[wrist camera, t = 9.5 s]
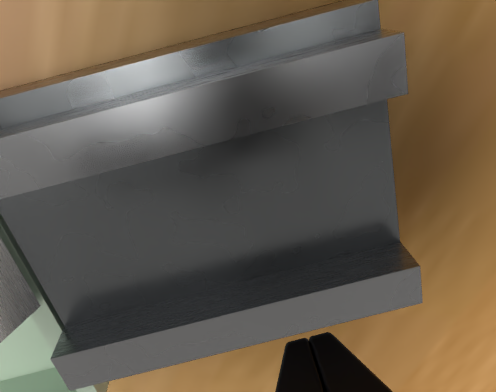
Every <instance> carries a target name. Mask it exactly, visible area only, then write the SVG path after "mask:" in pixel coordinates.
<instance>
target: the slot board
mask: <svg viewBox="0 0 496 392" xmlns="http://www.w3.org/2000/svg"><path fill="white" fill-rule="evenodd" d="M405 94H408V83H407V68H406V54H405V39H404V32H398V31H392V30H386V29H380V18H379V7H378V0H343V1H340V2H336V3H332V4H328V5H324V6H321V7H317V8H313V9H309V10H305V11H302V12H298V13H294V14H290V15H286V16H283V17H279V18H275V19H271V20H267V21H264V22H260V23H256V24H252V25H249V26H245V27H241V28H237V29H233V30H230V31H226V32H222V33H218V34H214V35H211V36H207V37H203V38H199V39H195V40H192V41H188V42H184V43H180V44H176V45H173V46H169V47H165V48H161V49H157V50H154V51H150V52H146V53H142V54H138V55H135V56H131V57H127V58H123V59H119V60H116V61H112V62H108V63H104V64H101V65H97V66H93V67H89V68H85V69H82V70H78V71H74V72H70V73H66V74H63V75H59V76H55V77H51V78H47V79H44V80H40V81H36V82H32V83H28V84H25V85H21V86H17V87H13V88H9V89H6V90H2V91H0V213H1V215H2V217H3V218H4V220H5V222H6V224H7V226H8V227H9V229H10V231H11V233H12V234H13V236H14V238H15V240H16V241H17V243H18V245H19V247H20V248H21V250H22V252H23V254H24V255H25V257H26V259H27V261H28V263H29V264H30V266H31V268H32V270H33V271H34V273H35V275H36V277H37V278H38V280H39V282H40V284H41V285H42V287H43V289H44V291H45V292H46V294H47V296H48V298H49V299H50V301H51V303H52V305H53V307H54V308H55V310H56V312H57V314H58V315H59V317H60V319H61V321H62V322H63V324H64V328H63V331H62V333H61V335H60V337H59V340H58V342H57V344H56V347H55V349H54V351H53V354H52V356H51V358H50V360H51V361H52V363H53V364H54V366H55V368H56V369H57V371H58V373H59V374H60V376H61V377H62V379H63V381H64V382H65V384H66V386H67V387H68V389H69V390H70V391H71V390H76V389H80V388H84V387H88V386H92V385H96V384H100V383H104V382H108V381H112V380H116V379H120V378H124V377H128V376H132V375H136V374H140V373H144V372H148V371H152V370H156V369H160V368H164V367H168V366H172V365H176V364H180V363H184V362H188V361H192V360H196V359H200V358H204V357H208V356H212V355H216V354H220V353H224V352H228V351H232V350H236V349H240V348H244V347H248V346H252V345H256V344H260V343H264V342H268V341H272V340H276V339H280V338H284V337H288V336H292V335H296V334H300V333H304V332H308V331H312V330H316V329H320V328H324V327H328V326H332V325H336V324H340V323H344V322H348V321H352V320H356V319H360V318H364V317H368V316H372V315H376V314H380V313H384V312H388V311H392V310H396V309H400V308H404V307H408V306H412V305H416V304H420V303H422V288H421V273H420V265H419V264H418V263H417V262H416V261H415V259H414V258H413V257H412V256H411V254H410V253H409V252H408V251H407V249H406V248H405V247H404V246H403V244H402V243H401V242H400V237H399V226H398V215H397V204H396V193H395V182H394V171H393V160H392V149H391V138H390V127H389V116H388V106H387V99H389V98H393V97H397V96H401V95H405Z"/></svg>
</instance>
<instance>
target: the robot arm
mask: <svg viewBox="0 0 496 392" xmlns="http://www.w3.org/2000/svg"><path fill="white" fill-rule="evenodd" d="M275 392H392V391H391V390H390V389H389V388H388V387H387V386H386V385H385V384H384V383H383V382H382V381H381V380H380V379H379V378H378V377H377V376H376V375H375V374H374V373H372V372H371V371H370V370H369V369H368V368H367V367H366V366H365V365H364V364H363V363H362V362H361V361H360V360H359V359H358V358H357V357H356V356H355V355H353V354H352V353H351V352H350V351H349V350H348V349H347V348H346V347H345V346H344V345H343V344H342V343H341V342H340V341H339V340H338V339H337V338H336V337H335V336H333V335H332V334H331V333H328V332H327V333H323V334H319V335H315V336H311V337H310V338H309V341H308V339H306V338H303V339H299V340H295V341H291V342H288V343H287V344H286V346H285V350H284V355H283V360H282V364H281V369H280V373H279V378H278V382H277V387H276V391H275Z"/></svg>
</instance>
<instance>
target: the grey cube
mask: <svg viewBox="0 0 496 392" xmlns="http://www.w3.org/2000/svg"><path fill="white" fill-rule="evenodd" d="M40 306H41V305H40V304H39V302H38V300H37V299H36V297H35V295H34V294H33V292H32V290H31V288H30V287H29V285H28V283H27V282H26V280H25V278H24V277H23V275H22V273H21V271H20V270H19V268H18V266H17V265H16V263H15V261H14V260H13V258H12V256H11V255H10V253H9V251H8V249H7V248H6V246H5V244H4V243H3V241H2V239H1V238H0V343H1V342H2V341H3V340H4V339H5V338H6V337H8V336H9V335H10V334H11V333H12V332H13V331H14V330H15V329H16V328H17V327H18V326H19V325H21V324H22V323H23V322H24V321H25V320H26V319H27V318H28V317H29V316H30V315H31V314H32V313H34V312H35V311H36V310H37V309H38V308H39V307H40Z"/></svg>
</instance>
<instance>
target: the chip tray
mask: <svg viewBox="0 0 496 392" xmlns="http://www.w3.org/2000/svg"><path fill="white" fill-rule="evenodd" d="M0 238H1V239H2V241H3V243H4V244H5V246H6V248H7V249H8V251H9V253H10V255H11V256H12V258H13V260H14V261H15V263H16V265H17V266H18V268H19V270H20V271H21V273H22V275H23V277H24V278H25V280H26V282H27V283H28V285H29V287H30V288H31V290H32V292H33V294H34V295H35V297H36V299H37V300H38V302H39V304H40V305H41V306H40V307H39V308H38V309H37V310H36V311H35V312H34V313H32V314H31V315H30V316H29V317H28V318H27V319H26V320H25V321H24V322H23V323H22V324H21V325H19V326H18V327H17V328H16V329H15V330H14V331H13V332H12V333H11V334H10V335H9V336H8V337H6V338H5V339H4V340H3V341H2V342H1V343H0V392H107V388H108V384H109V381H108V382H104V383H100V384H96V385H92V386H88V387H84V388H80V389H76V390H71V391H70V390H69V389H68V387H67V386H66V384H65V382H64V381H63V379H62V377H61V376H60V374H59V373H58V371H57V369H56V368H55V366H54V364H53V363H52V361H51V360H50V358H51V356H52V354H53V351H54V349H55V347H56V344H57V342H58V340H59V337H60V335H61V333H62V331H63V328H64V324H63V322H62V321H61V319H60V317H59V315H58V314H57V312H56V310H55V308H54V307H53V305H52V303H51V301H50V299H49V298H48V296H47V294H46V292H45V291H44V289H43V287H42V285H41V284H40V282H39V280H38V278H37V277H36V275H35V273H34V271H33V270H32V268H31V266H30V264H29V263H28V261H27V259H26V257H25V255H24V254H23V252H22V250H21V248H20V247H19V245H18V243H17V241H16V240H15V238H14V236H13V234H12V233H11V231H10V229H9V227H8V226H7V224H6V222H5V220H4V218H3V217H2V215H1V213H0Z"/></svg>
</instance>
